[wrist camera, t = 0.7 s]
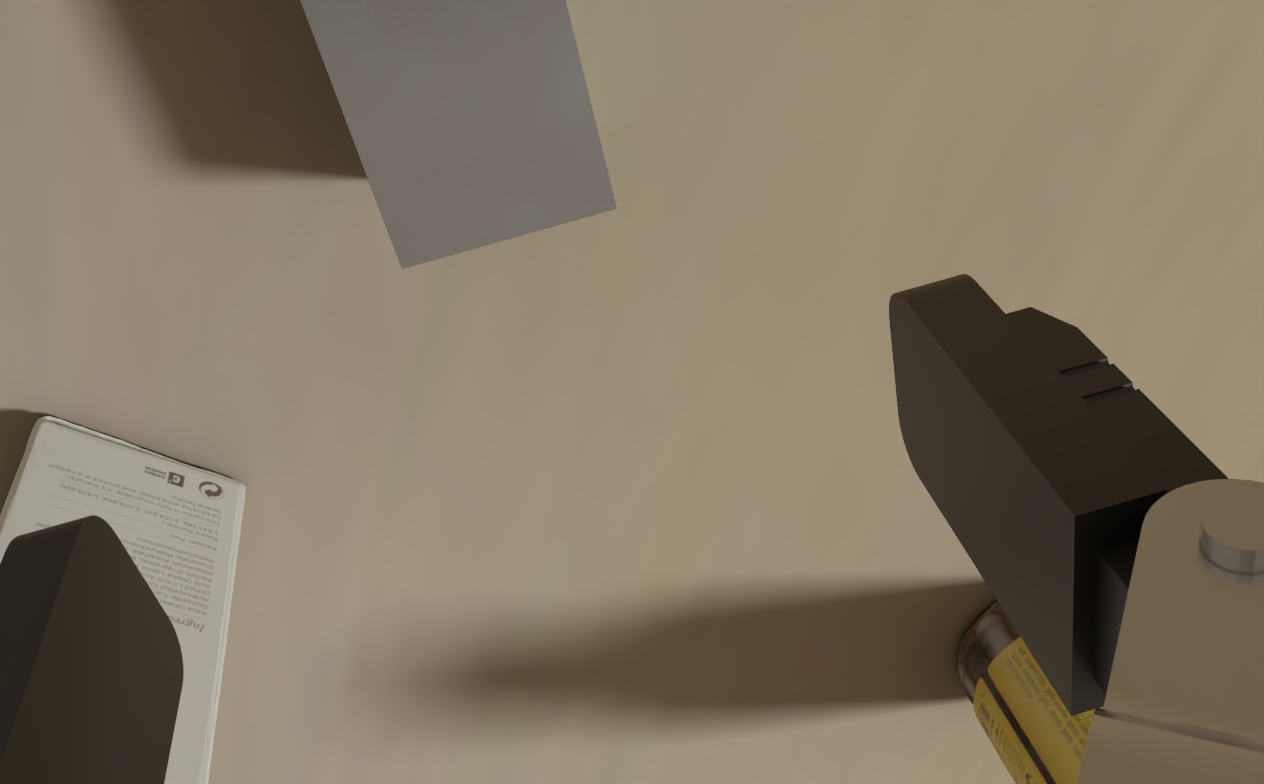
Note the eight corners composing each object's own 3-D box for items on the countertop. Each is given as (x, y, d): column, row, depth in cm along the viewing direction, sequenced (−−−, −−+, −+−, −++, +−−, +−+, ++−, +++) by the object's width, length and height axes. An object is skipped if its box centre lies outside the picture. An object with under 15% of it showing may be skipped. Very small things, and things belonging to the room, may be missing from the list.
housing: (275, -163, 24) (253, -121, 20) (494, -223, 25) (518, -192, 20) (398, 178, 29) (402, 269, 25) (583, 126, 29) (616, 208, 25)
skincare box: (40, 405, 30) (-186, 927, 18) (262, 481, 33) (193, 983, 21) (-54, 622, 34) (-300, 1189, 21) (154, 676, 36) (40, 1210, 24)
